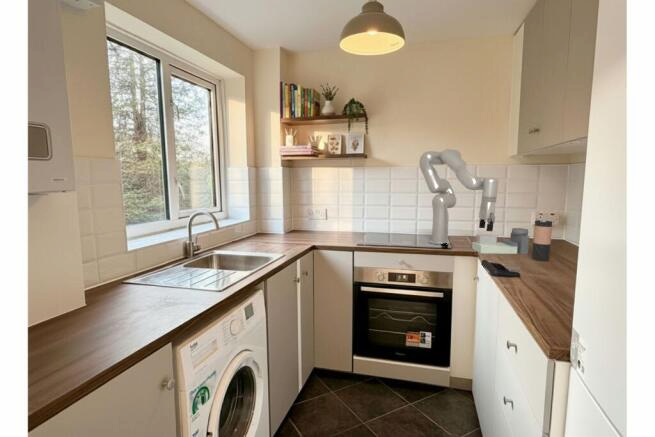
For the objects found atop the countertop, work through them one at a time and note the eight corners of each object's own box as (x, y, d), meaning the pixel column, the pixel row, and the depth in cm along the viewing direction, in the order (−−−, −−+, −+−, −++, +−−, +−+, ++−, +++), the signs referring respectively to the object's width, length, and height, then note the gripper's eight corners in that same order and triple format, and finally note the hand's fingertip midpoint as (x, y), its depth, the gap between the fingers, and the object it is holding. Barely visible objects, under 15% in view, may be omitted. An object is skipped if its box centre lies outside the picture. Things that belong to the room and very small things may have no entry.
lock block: (476, 242, 196) (476, 234, 195) (492, 243, 194) (493, 235, 193) (479, 244, 190) (479, 236, 189) (496, 245, 188) (496, 236, 188)
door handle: (514, 262, 158) (478, 258, 161) (531, 274, 138) (490, 269, 141) (513, 269, 158) (477, 265, 161) (530, 282, 139) (489, 277, 142)
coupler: (472, 248, 198) (473, 227, 197) (519, 249, 198) (521, 227, 196) (480, 253, 186) (482, 230, 185) (531, 253, 186) (533, 230, 184)
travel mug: (540, 261, 168) (544, 222, 166) (528, 258, 176) (531, 220, 173) (552, 260, 170) (556, 221, 168) (539, 257, 178) (542, 220, 175)
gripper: (475, 198, 197) (472, 226, 200) (489, 201, 180) (485, 232, 183) (488, 198, 197) (485, 227, 200) (503, 201, 180) (499, 232, 183)
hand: (485, 229), depth 191 cm, fingers open, 9 cm apart
